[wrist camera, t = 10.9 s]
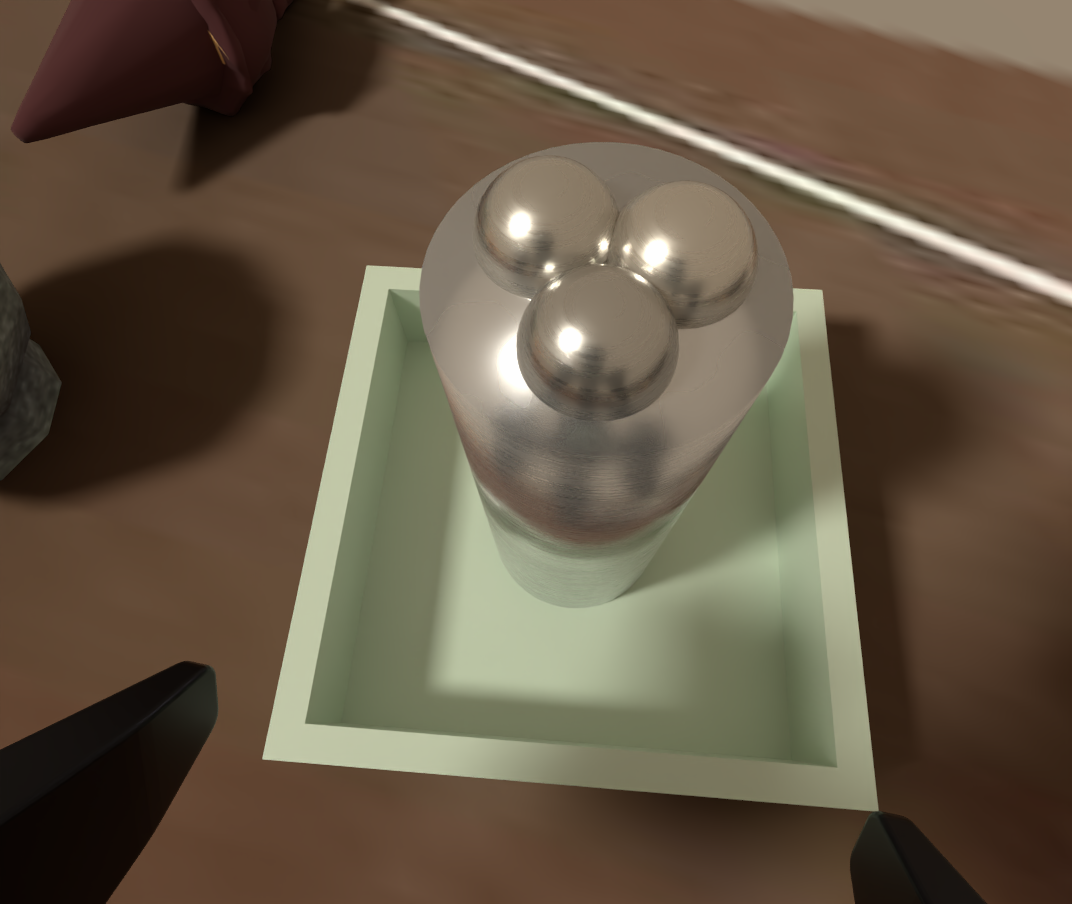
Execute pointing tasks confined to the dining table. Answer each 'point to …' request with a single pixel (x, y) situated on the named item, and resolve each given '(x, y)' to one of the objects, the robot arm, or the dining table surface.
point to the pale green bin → (578, 633)
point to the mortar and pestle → (22, 383)
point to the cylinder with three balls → (599, 351)
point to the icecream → (147, 61)
